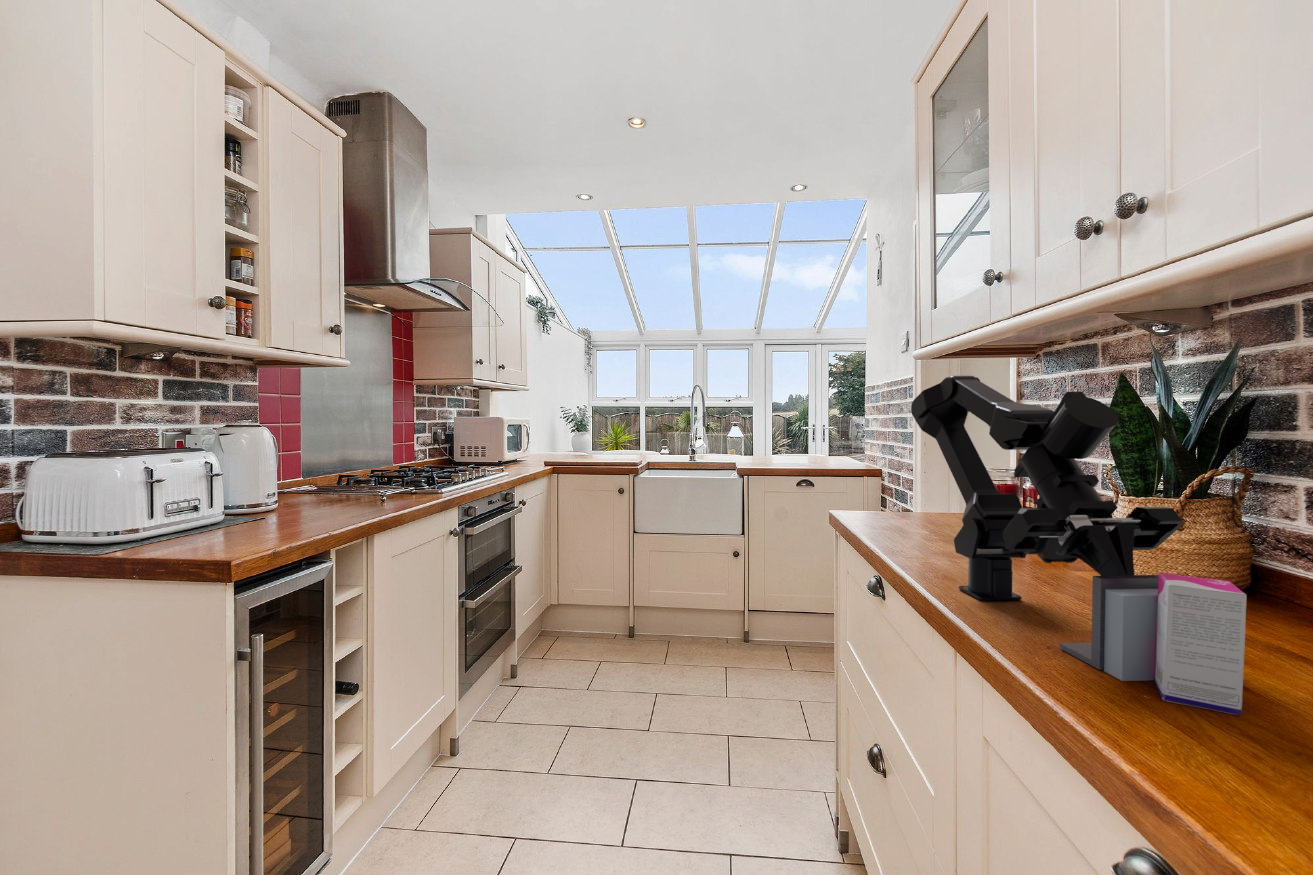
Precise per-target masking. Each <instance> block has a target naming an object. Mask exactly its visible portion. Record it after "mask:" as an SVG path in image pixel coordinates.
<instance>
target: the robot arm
mask: <svg viewBox="0 0 1313 875" xmlns="http://www.w3.org/2000/svg"><path fill="white" fill-rule="evenodd" d="M910 407H911V408H910V412H911V415H912V417H913V418H914V420H915V422H916V424H917V425H918V427H919V429H920V430H921V431H922V432H924V433H925V434H927V435H929V436H930V437H932V438H933V439H935V440H936V443H937V444H938V446H939V449H940V451H941V453H942V455H943V457H944V459H945V461H946V463H947V466H948V468H949V470H950V473H951V474H952V477H953V478H954V481H955V483H956V485H957V488H958V490H959V492H960V493H961V496H962V498H963V500H964V503H965V509H964V511H963V515H962V518H961V522H962V524H963V525H962V527H961V529H959V531H958V533H957V534H956V536H955V537H954V538H953V543H954V544H953V546H954V549H955V553H956V554H958V555H961V556H964V557H966V558H968V579H967V580H968V581H967V582H968V585H959V586H958V589H959V590H960V591H962V592H964V593H966V594H968V595H970V596H972V597H973V598H975V599H977V600H980V601H1021V600H1022V599H1023V598H1022V595H1020V594H1018V593H1015V592H1013V576H1014V574H1013V572H1014V571H1013V559H1014V558H1015V559H1017V558H1018V559H1026V557H1027V555H1037V557H1038V558H1040V560H1041V561H1042V562H1043V563H1045V564H1053V563H1065V564H1070V563H1071V564H1072V563H1074V562H1076V561H1078V560H1080V561H1081V562H1083V563H1085V564H1086V565H1088V566H1089V567H1090V568H1091V569H1092V570H1094V571H1095V572H1096V573H1097V574H1098V575H1099V576H1120V575H1135V564H1134V551H1151V550H1154V549H1156V548H1158V547H1160V546H1161V545H1162V544H1163V543H1164V542H1165V541H1166V540H1168V538H1170V537H1171V536H1172V535H1173V534H1174V533H1175V532H1176V531H1177V530H1179V529H1180V528H1181V527H1182V526H1183V525H1185V524H1184V520H1182V518H1181V517H1180V516H1179V514H1178V513H1177V512H1176V510H1175V509H1174V508H1173V507H1172V508H1171V507H1166V506H1136V507H1135V508H1134V509H1133V510H1132V511H1131V512H1130V513H1129V514H1127V516H1126V517H1115V518H1114V517H1113V513H1114V512H1115V511H1116V510H1117V509H1118V506H1117V504H1116V503H1115V502H1114V500H1105V501H1104V500H1103V498H1102V497H1101V495H1100V494H1099V492H1098V491H1097V490H1096V488H1095V486H1096V485H1097V484H1098V483H1099V482H1100V480H1099V479H1098V477H1097V476H1096V474H1085V472H1084V470H1083V469H1082V467H1081V466H1080V464H1079V463H1078V462H1077V460H1082V459H1087V458H1090V457H1091V455H1092V454H1093V453H1094V452H1095V451H1096V450H1097V448H1098V447H1099V446H1100V444H1102V442H1103V441H1104V439H1106V437H1107V436H1108V435H1109V434H1110V432H1111V431H1112V430H1113V429H1114V428H1115V427H1116V425H1117V424H1118V422H1119V416H1118V414H1117V412H1116V410H1114V409H1113V407H1111V406H1108V404H1107V405H1106V404H1105V403H1103V402H1102V401H1101V400H1100V401H1099V400H1097V399H1095V398H1092V397H1088V396H1086V394H1085V393H1084V392H1083V391H1066V392H1065V393H1064V395H1063V396H1062V398H1061V400H1060V401H1059V404H1058V405H1057V407H1056V408H1055V410H1052V409H1050V408H1047V407H1042V406H1039V405H1034V404H1027V403H1020V402H1016V401H1014V400H1013V399H1011V398H1009V397H1007V396H1006V395H1004V394H1002V393H1001V392H999V391H997V390H995V389H994V388H992V387H990V386H989V385H987V384H986V383H984V382H981V380H980V378H979V377H976V376H974V375H950V376H948V377H947V376H946V377H945V378H944V379H943V380H942V381H941V382H940V383H938V384H935V385H933V386H931V387H928V388H925V389H923V390H922V391H921V392H920V393H919V394H918V395H917V396H916V397H915V398H914V399H913V400H912V402H911V406H910ZM969 413H971V414H972V415H974V416H975V417H976V418H978V419H980V420H981V421H982V422H984V423H985V424H986V425H987V426H989V432H988V433H989V436H990V437H991V439H993V440H994V441H995V443H997V445H998V446H999V447H1000V448H1001V449H1003V450H1005V451H1017V450H1019V451H1024V450H1025V452H1024V453H1023V455H1022V456H1021V457H1019V458H1018V459H1017V465H1016V466H1015V468H1014V471H1013V472H1014V474H1013V475H1014V477H1015V478H1028V479H1029V480H1030V482H1031V484H1032V486H1033V487H1034V489H1035V490H1036V493H1037V494H1038V496H1039V497H1038V499H1037V500H1036V501H1035V505H1036V507H1023V506H1022V504H1021V500H1020V498H1019V497H1018V496H1017V495H1016V494H1015V493H1001V492H1000V491H999V490H998V488H997V487H996V485H995V483H994V482H993V479H992V478H991V476H990V473H989V472H988V470H987V468H986V466H985V463H984V462H983V460H982V458H981V455H980V454H979V452H978V451H977V450H978V449H976V446H975V444H974V443H973V441H972V439H971V437H970V435H969V433H968V431H967V430H966V427H965V424H966V421H967V419H968V414H969Z"/></svg>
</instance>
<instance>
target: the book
mask: <svg viewBox="0 0 1313 875" xmlns="http://www.w3.org/2000/svg"><path fill="white" fill-rule="evenodd" d="M1157 602H1158V589H1105V646H1104V670H1103V672H1105V673H1107V674H1109V675H1110V676H1113V677H1114V678H1116V679H1118V680H1119V681H1121V682H1127V681H1128V682H1129V681H1131V682H1133V681H1138V682H1139V681H1154V671H1155V646H1156V626H1157Z"/></svg>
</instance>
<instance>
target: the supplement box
mask: <svg viewBox="0 0 1313 875" xmlns="http://www.w3.org/2000/svg"><path fill="white" fill-rule="evenodd" d="M1158 575H1159V580H1158V602H1157V626H1156V646H1155V671H1154V680H1153V681H1154V683H1155V685H1156V689H1157V690H1158V693H1159V695H1160V697H1161V699H1162V701H1164V702H1168V703H1174V704H1177V705H1178V704H1179V705H1184V706H1185V705H1186V706H1190V707H1196V708H1201V709H1204V710H1211V711H1215V712H1220V713H1225V714H1231V715H1237V716H1240V715H1242V709H1243V691H1244V668H1245V667H1244V666H1245V650H1246V649H1245V648H1246V647H1245V646H1246V644H1245V643H1246V617H1247V616H1246V615H1247V594H1246V593H1245V592H1244V591H1242V590H1241V589H1240V588H1239V587H1237V585H1235V584H1234V583H1233V582H1232V581H1229V580H1222V579H1215V578H1213V579H1212V578H1204V577H1196V576H1195V577H1194V576H1187V575H1181V574H1171V573H1163V572H1160V573H1159V574H1158Z"/></svg>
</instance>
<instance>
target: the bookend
mask: <svg viewBox="0 0 1313 875" xmlns="http://www.w3.org/2000/svg"><path fill="white" fill-rule="evenodd" d="M1158 580H1159V574H1144V575H1143V574H1142V575H1141V574H1140V575H1139V574H1138V575H1137V574H1134V575H1120V576H1101V575H1092V583H1091V584H1092V586H1091V587H1092V590H1091V592H1092V594H1091V595H1092V596H1091V597H1092V598H1091V600H1092V601H1091V602H1092V603H1091V604H1092V605H1091V642H1060V643H1059V645H1058V646H1059V649H1060V650H1062V651H1064V652H1065V653H1068V654H1070V656H1073V657H1075V658H1077V659H1079V660H1080V661H1082V662H1084V663H1086V664H1088V665H1089V666H1092V667H1093V668H1096V669H1097V670H1099V671H1104V646H1105V589H1158Z"/></svg>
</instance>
